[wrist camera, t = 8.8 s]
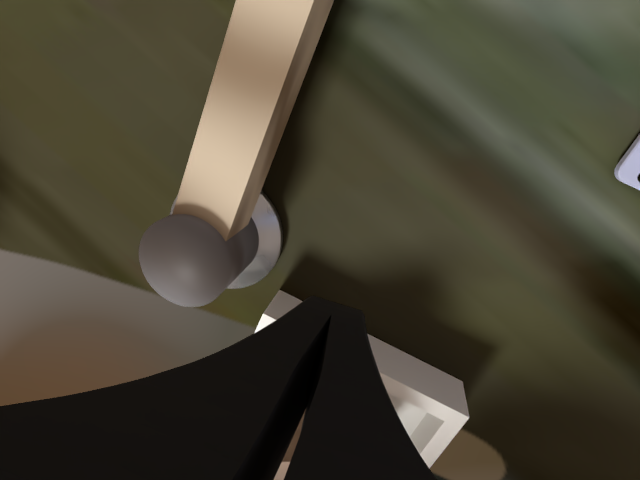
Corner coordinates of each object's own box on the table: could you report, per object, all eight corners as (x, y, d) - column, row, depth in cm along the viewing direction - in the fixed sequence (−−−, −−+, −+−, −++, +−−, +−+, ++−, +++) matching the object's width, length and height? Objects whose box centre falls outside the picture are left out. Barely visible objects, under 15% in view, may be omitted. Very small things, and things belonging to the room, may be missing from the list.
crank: (243, 286, 21) (199, 334, 17) (175, 251, 21) (114, 290, 17) (399, -99, 14) (394, -184, 10) (298, -143, 15) (251, -246, 10)
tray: (462, 381, 21) (469, 417, 19) (371, 503, 25) (367, 546, 22) (279, 289, 21) (263, 313, 19) (219, 424, 25) (199, 457, 23)
